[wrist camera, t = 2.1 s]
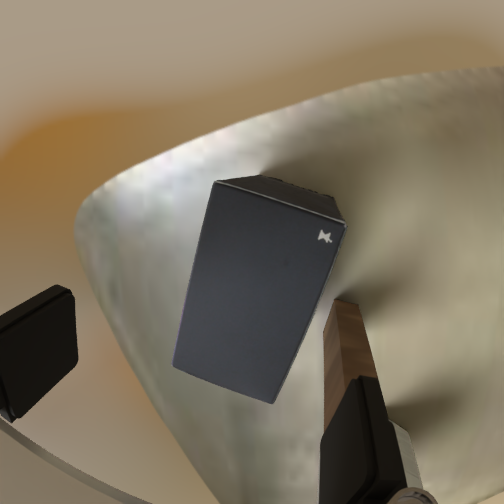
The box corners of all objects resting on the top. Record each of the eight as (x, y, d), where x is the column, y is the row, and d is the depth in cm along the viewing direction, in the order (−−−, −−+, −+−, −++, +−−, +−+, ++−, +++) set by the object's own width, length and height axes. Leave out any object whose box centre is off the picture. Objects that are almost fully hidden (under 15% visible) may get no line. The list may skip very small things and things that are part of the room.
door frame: (544, 346, 22) (611, 423, 8) (531, 370, 23) (590, 452, 9) (334, 298, 25) (347, 428, 11) (323, 331, 26) (322, 468, 12)
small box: (252, 170, 23) (207, 172, 13) (337, 198, 23) (357, 220, 13) (216, 297, 27) (164, 368, 17) (292, 323, 26) (277, 409, 16)
